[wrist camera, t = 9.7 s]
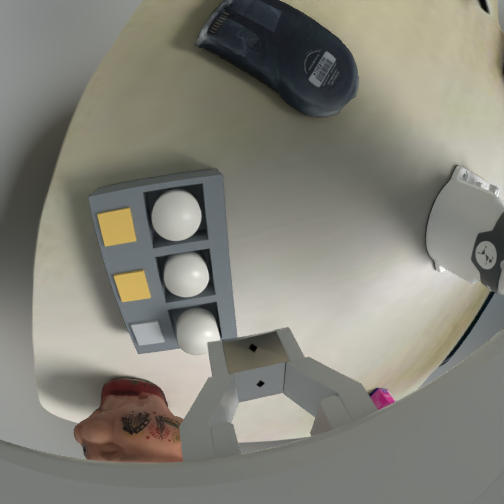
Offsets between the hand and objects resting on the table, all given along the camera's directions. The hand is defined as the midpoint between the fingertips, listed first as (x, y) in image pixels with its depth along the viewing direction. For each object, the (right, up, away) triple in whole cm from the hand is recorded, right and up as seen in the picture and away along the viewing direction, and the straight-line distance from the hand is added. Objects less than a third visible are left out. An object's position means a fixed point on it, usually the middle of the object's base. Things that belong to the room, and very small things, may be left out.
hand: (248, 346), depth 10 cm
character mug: (-16, -17, +24) cm, 34 cm away
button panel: (-8, +2, +17) cm, 19 cm away
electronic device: (+3, +22, +11) cm, 25 cm away
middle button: (-6, +2, +16) cm, 17 cm away
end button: (-7, +7, +13) cm, 17 cm away
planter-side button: (-5, -4, +17) cm, 18 cm away
